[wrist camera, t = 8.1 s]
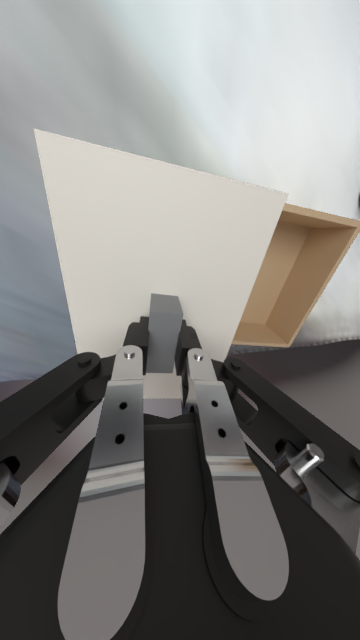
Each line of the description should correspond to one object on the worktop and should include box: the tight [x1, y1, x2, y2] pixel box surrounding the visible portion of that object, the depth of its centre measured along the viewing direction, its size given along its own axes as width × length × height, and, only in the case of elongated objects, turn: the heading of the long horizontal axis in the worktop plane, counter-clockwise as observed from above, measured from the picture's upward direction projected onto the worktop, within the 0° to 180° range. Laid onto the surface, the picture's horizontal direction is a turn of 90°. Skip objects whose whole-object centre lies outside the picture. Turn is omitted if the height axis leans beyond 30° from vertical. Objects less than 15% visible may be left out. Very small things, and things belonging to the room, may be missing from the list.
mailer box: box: [231, 203, 360, 347], centre depth 24 cm, size 12×18×7 cm, turn 171°
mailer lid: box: [34, 129, 288, 400], centre depth 13 cm, size 14×20×6 cm
